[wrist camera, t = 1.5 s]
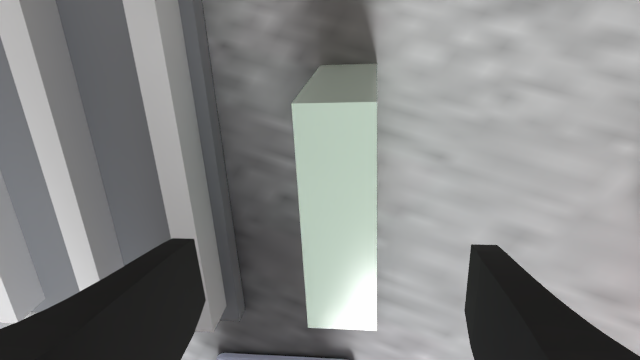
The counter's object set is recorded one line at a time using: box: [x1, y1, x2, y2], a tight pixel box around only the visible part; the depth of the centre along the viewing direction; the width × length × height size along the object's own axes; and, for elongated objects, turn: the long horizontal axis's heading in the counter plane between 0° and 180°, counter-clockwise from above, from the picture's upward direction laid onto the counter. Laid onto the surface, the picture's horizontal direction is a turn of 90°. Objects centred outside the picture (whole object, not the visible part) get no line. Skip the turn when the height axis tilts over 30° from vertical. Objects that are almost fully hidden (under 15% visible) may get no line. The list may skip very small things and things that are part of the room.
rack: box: [0, 0, 245, 332], centre depth 21 cm, size 18×18×3 cm
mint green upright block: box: [291, 64, 377, 331], centre depth 17 cm, size 8×2×7 cm, turn 3°
